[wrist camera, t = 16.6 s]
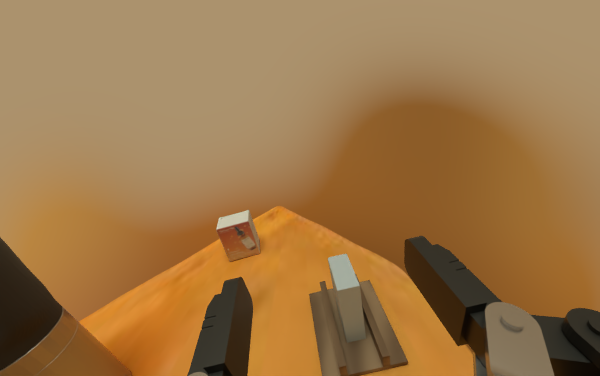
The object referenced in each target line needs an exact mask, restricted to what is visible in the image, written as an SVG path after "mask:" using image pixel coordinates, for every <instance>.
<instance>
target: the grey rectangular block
mask: <svg viewBox="0 0 600 376" xmlns="http://www.w3.org/2000/svg"><path fill="white" fill-rule="evenodd" d="M328 262H329V267H330V273H331V278H332V283H333V288H334V293H335V298H336V303H337V308H338V312H339V315H340V319H341V323H342V326H343V330H344V334H345V337H346V341H347V343H348V342H352V341H357V340H361V339H365V338H366V334H365V326H364V317H363V309H362V300H361V291H360V285H359V282H358V280H357V278H356V275H355V273H354V270H353V268H352V266H351V263H350V261H349V258H348V256H347V254H343V255H338V256H334V257H330V258H328Z"/></svg>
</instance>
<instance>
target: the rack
mask: <svg viewBox="0 0 600 376" xmlns="http://www.w3.org/2000/svg"><path fill="white" fill-rule="evenodd" d="M355 275H356V274H355ZM356 278H357V276H356ZM357 280H358V278H357ZM358 282H359V281H358ZM359 285H360V291H361V300H362V309H363V317H364V326H365V334H366V338H365V339H361V340H357V341H352V342H348V343H347V341H346V337H345V334H344V330H343V326H342V323H341V319H340V315H339V312H338V308H337V303H336V298H335V293H334V288H333V289H329V290H327V288H326V284H325V281H323V282H320V286H321V290H322V291H320V292H316V293H311V294H309V296H310V302H311V308H312V314H313V320H314V327H315V333H316V339H317V345H318V351H319V357H320V364H321V370H322V376H359V375H363V374H368V373H372V372H376V371H381V370H385V369H389V368H394V367H398V366H402V365H407V364H408V361H407V359H406V356H405V354H404V352H403V350H402V348H401V346H400V344H399V342H398V339H397V337H396V335H395V333H394V331H393V329H392V327H391V325H390V323H389V320H388V318H387V316H386V314H385V312H384V310H383V308H382V306H381V304H380V301H379V299H378V297H377V295H376V293H375V291H374V289H373V287H372V285H371V282H370V280H368V281H363V282H359Z"/></svg>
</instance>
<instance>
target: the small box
mask: <svg viewBox="0 0 600 376" xmlns="http://www.w3.org/2000/svg"><path fill="white" fill-rule="evenodd" d="M216 230H217V233H218V235H219V237H220V240H221V242H222V244H223V247H224V249H225V251H226V254H227V256H228V258H229V260H230V262H231V261H234V260H237V259H241V258H245V257H248V256H252V255H257V254H260V240H259V237H258V234H257V232H256V229H255V226H254V223H253V220H252V217H251V214H250V212H249V210H247V211H244V212H240V213H237V214H233V215H229V216H225V217H220V218H219V221H218V225H217V229H216Z"/></svg>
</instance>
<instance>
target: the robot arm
mask: <svg viewBox="0 0 600 376" xmlns="http://www.w3.org/2000/svg"><path fill="white" fill-rule="evenodd" d="M404 259H405V260H404V261H405V267H406V270H407V272H408V274H409V276H410V277H411V279H412V280H413V282H414V283H415V285H416V286H417V288H418V289H419V290H420V292H421V293H422V295H423V296H424V298H425V299H426V301H427V302H428V304H429V305H430V306H431V308H432V309H433V311H434V312H435V314H436V315H437V317H438V318H439V319H440V321H441V322H442V324H443V325H444V327H445V328H446V330H447V331H448V332H449V334H450V335H451V337H452V338H453V340H454V341H455V343H456V344H457V345H458V346H460V345H465V344H469V346H470V347H471V348H472V350H473V351H474V352H473V365H474V376H600V312H598V311H594V310H590V309H585V308H576V309H572V310H571V311H569V312H568V313H567V315H566V317H565V318H559V317H546V316H536V315H530V314H528V313H527V312H526V311H524V310H522V309H520V308H519V307H516V306H514V305H511V304H508V303H504V302H502V301H501V300H500V299H498V298H497V297H496V296H495V295H494V294H493V293H492V292H491V291H490V290H489V289H488V288H487V287H486V286H485V285H484V284H483V283H482V282H481V281H480V280H479V279H478V278H477V277H476V276H475V275H474V274H473V273H472V272H471V271H470V270H469V269H467V268H466V266H465V265H464V264H463V263H461V262H459V260H458V259H457V258H456V257H455V256H454V255H453V254H452V253H451V252H450V251H449V250H447V249H445V248H443V247H442V246H440V245H438V244H436V245H431V243H429V241H428V240H427V239H426V238H425V237H423V236H419V237H415V238H410V239H406V240H405V258H404ZM252 316H253V303H252V299H251V296H250V294H249V291H248V289H247V287H246V285H245V283H244V280H243V278H242V277H239V278H235V279H230V280H226V281H225V282H224V284H223V288H222V292H221V294H217V295H215V296H214V298H213V299H212V301H211V302H210V304H209V305H208V307H207V311H206V314H205V320H204V321H203V325H202V330H201V332H200V335H199V339H198V342H197V346H196V349H195V353H194V356H193V359H192V363H191V366H190V370H189V373H188V375H187V376H247V373H248V361H249V350H250V339H251V327H252ZM0 376H132V375H131V372H130V371H129V370H128V369H127V368H126V367H125V366H124V365H123V364H122V363H121V362H120V361H119V360H118V359H117V358H116V357H115V356H114V355H113V354H112V353H111V352H110V351H109V350H108V349H107V348H106V347H104V346H103V345H102V344H101V343H100V342H99V341H98V340H97V339H96V338H95V337H94V336H93V335H92V334H91V333H90V332H89V331H88V330H87V329H85V328H84V327H83V326H82V325H81V324H80V323H79V322H78V321H77V320H76V319H75V318H74V317H73V316H72V315H71V314H69V313H68V312H67V311H66V310H65V309H64V308H63V307H62V306H61V305H60V304H59V303H58V302H57V301H56V300H55V299H54V298H53V297H52V295H51V294H50V293H49V291H48V290H47V289H46V287H45V286H44V285H43V284H42V283H41V282H40V281H39V280H38V279H37V278H36V277H35V275H33V274H32V272H30V270H29V269H28V268H27V267H26V266H25V265H24V264H23V263H22V262H21V260H20V259H19V258H18V257H17V256H16V255H15V253H14V252H13V251H12V250H11V249H10V247H9V246H8V245H7V244H6V243H5V242H4V241H3V240H2V239H1V238H0Z"/></svg>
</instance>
